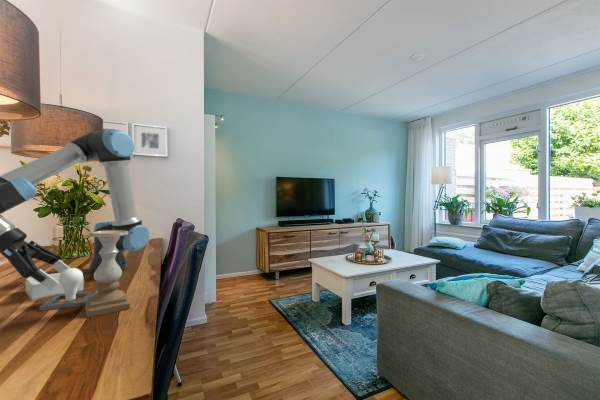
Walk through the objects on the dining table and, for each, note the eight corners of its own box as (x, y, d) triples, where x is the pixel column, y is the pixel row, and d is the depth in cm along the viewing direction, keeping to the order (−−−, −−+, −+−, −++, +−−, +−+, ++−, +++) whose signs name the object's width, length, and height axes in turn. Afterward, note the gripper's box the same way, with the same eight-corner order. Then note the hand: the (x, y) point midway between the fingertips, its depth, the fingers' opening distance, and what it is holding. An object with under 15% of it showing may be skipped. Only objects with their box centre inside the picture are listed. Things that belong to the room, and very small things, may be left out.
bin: (73, 283, 108) (73, 270, 108) (83, 290, 100) (83, 277, 100) (25, 291, 98) (25, 277, 98) (32, 300, 89) (32, 285, 89)
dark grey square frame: (55, 298, 92) (55, 294, 92) (96, 293, 97) (96, 290, 97) (39, 310, 82) (39, 306, 82) (86, 305, 86) (86, 301, 86)
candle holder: (84, 306, 86) (86, 231, 86) (125, 298, 93) (127, 229, 93) (85, 318, 77) (88, 234, 77) (130, 308, 84) (132, 232, 84)
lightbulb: (68, 306, 86) (69, 271, 86) (53, 304, 87) (53, 269, 87) (87, 299, 91) (87, 266, 92) (72, 297, 93) (73, 265, 93)
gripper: (14, 239, 92) (68, 279, 98) (-41, 252, 69) (33, 303, 75) (35, 223, 94) (86, 263, 100) (-12, 231, 72) (58, 282, 78)
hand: (64, 280), depth 88 cm, fingers open, 13 cm apart
